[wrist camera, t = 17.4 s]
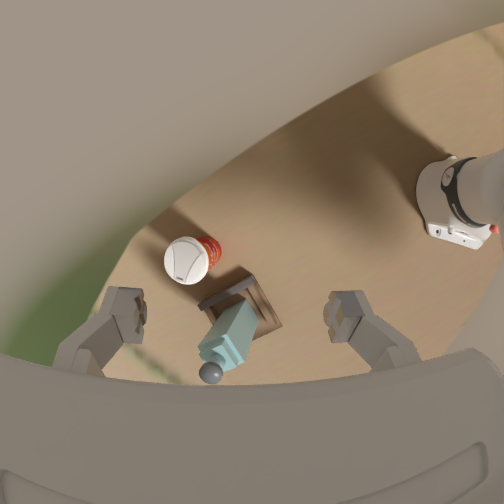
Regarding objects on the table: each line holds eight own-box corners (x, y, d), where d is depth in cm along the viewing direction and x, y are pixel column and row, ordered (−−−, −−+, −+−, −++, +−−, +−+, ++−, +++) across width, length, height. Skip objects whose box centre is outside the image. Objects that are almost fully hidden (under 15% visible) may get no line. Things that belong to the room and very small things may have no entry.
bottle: (258, 319, 57) (237, 383, 34) (237, 330, 58) (205, 395, 35) (246, 298, 57) (215, 352, 34) (224, 309, 58) (183, 365, 35)
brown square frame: (282, 325, 57) (281, 331, 54) (231, 349, 60) (228, 355, 57) (252, 274, 57) (250, 277, 54) (202, 301, 59) (197, 305, 56)
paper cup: (221, 274, 58) (200, 292, 44) (186, 263, 59) (157, 277, 45) (231, 237, 57) (211, 244, 43) (195, 227, 57) (166, 231, 44)
